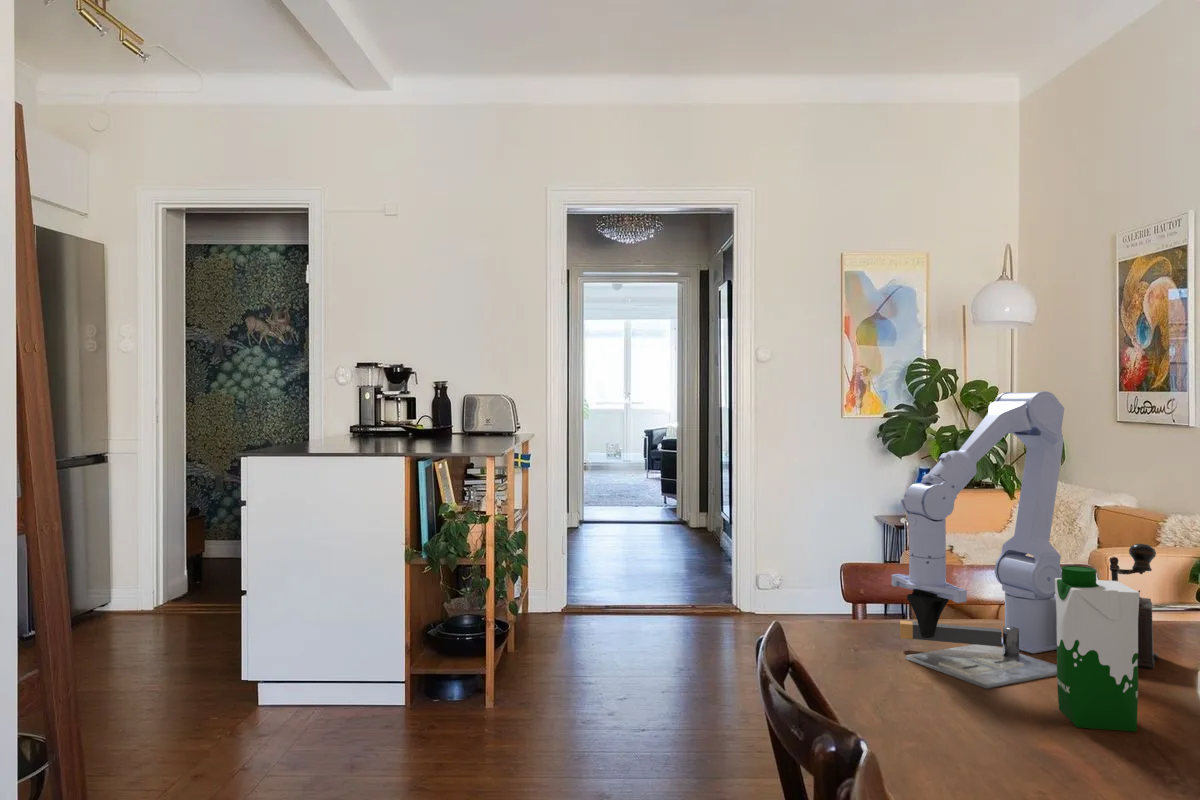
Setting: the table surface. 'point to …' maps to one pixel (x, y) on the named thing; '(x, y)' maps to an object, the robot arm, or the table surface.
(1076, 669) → the milk carton
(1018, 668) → the tray base
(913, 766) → the table surface
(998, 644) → the swing arm
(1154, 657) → the manual coffee grinder
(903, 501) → the robot arm
